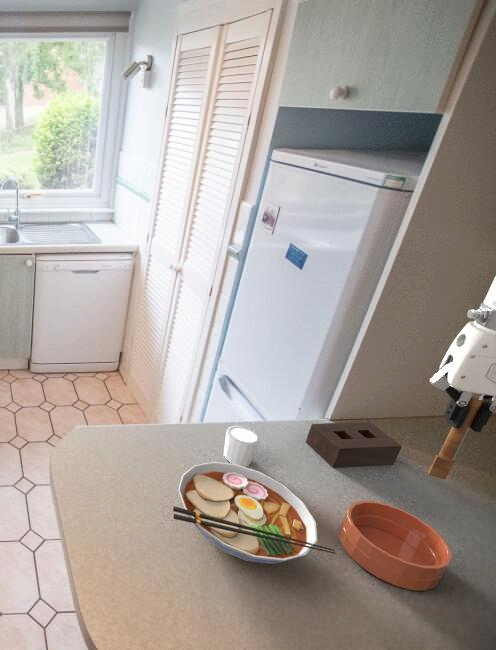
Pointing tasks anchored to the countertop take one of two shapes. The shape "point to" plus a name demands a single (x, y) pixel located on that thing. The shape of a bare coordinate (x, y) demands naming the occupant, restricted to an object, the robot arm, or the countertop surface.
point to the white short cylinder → (240, 445)
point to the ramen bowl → (246, 513)
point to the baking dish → (394, 545)
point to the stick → (454, 441)
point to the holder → (352, 444)
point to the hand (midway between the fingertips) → (461, 424)
